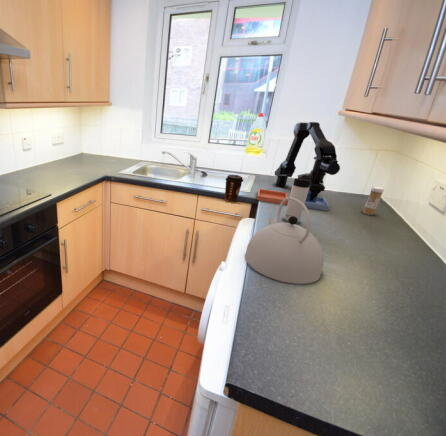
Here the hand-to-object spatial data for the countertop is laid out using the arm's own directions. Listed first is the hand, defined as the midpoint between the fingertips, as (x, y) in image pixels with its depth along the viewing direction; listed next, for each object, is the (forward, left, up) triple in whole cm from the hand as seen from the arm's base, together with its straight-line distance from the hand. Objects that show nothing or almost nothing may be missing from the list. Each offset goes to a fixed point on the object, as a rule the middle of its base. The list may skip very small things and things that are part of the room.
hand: (310, 199), depth 155 cm
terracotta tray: (+1, -18, -3) cm, 18 cm away
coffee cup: (+15, -38, -3) cm, 41 cm away
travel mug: (+32, -10, -3) cm, 34 cm away
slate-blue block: (0, 0, -1) cm, 1 cm away
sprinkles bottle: (+2, +25, -3) cm, 25 cm away
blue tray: (0, 0, -3) cm, 3 cm away
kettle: (+75, -16, -3) cm, 76 cm away
